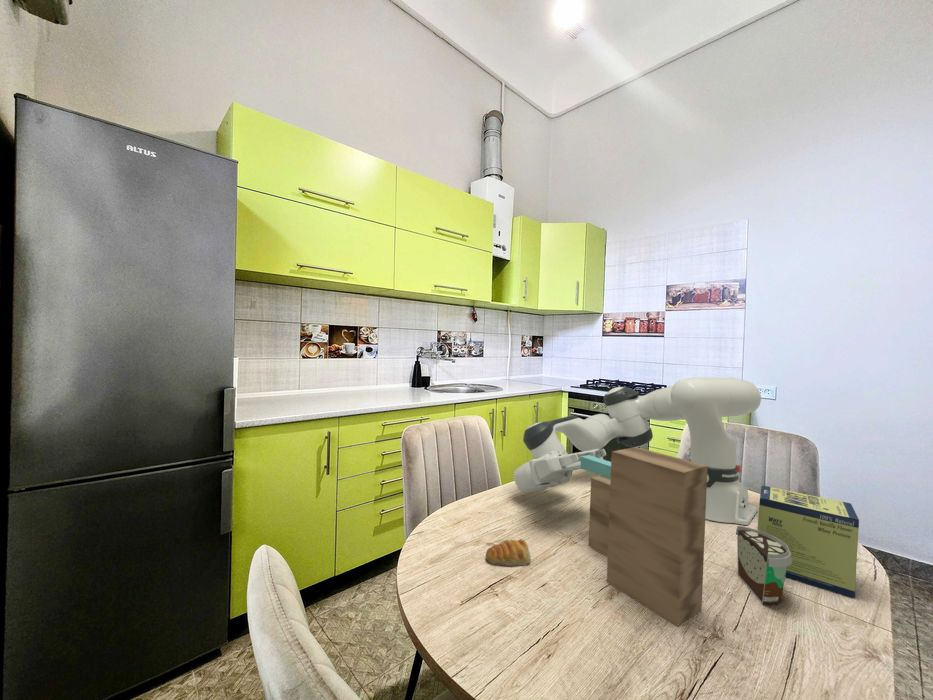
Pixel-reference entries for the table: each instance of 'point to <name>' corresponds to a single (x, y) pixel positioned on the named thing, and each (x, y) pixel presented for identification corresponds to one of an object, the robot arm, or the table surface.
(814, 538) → the protein box
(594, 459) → the teal block
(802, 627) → the table surface
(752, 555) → the food container
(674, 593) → the walnut stand
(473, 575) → the table surface
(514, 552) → the pastry
